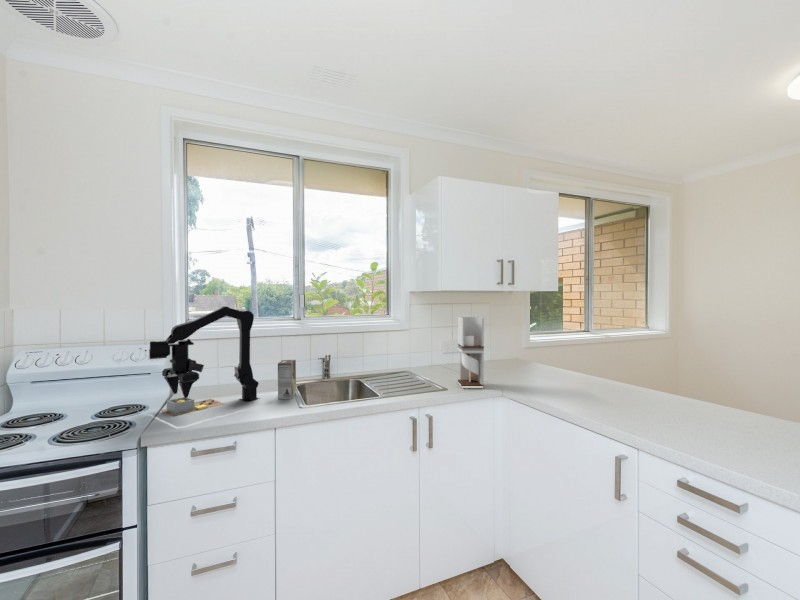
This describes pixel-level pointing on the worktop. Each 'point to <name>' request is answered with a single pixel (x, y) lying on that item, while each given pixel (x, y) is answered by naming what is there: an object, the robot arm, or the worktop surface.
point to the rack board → (206, 402)
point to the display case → (471, 350)
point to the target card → (200, 407)
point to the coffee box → (286, 379)
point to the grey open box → (180, 405)
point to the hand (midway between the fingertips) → (180, 395)
